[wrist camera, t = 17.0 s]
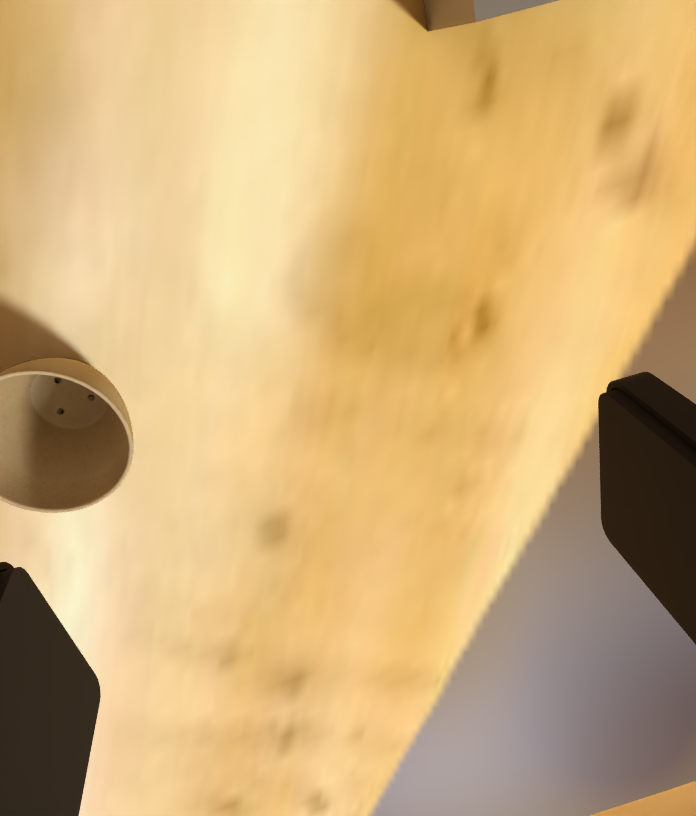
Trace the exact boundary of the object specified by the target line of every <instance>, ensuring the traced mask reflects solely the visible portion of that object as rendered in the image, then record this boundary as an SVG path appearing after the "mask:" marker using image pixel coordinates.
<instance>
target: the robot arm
mask: <svg viewBox="0 0 696 816" xmlns="http://www.w3.org/2000/svg"><path fill="white" fill-rule="evenodd" d="M598 408H599V444H600V445H599V448H600V486H601V520H602V525H603V529H604V531H605V534H606V536H607V538H608V539H609V541H610V542H611V543H612V545H613V546H614V547H615V548H616V549H617V551H618V552H619V553H620V554H621V555H622V557H623V558H624V559H625V560H626V561H627V563H628V564H629V565H630V566H631V567H632V569H633V570H634V571H635V572H636V573H637V575H638V576H639V577H640V578H641V579H642V580H643V582H644V583H645V584H646V585H647V587H648V588H649V589H650V590H651V591H652V592H653V593H654V595H655V596H656V597H657V598H658V600H659V601H660V602H661V603H662V604H663V606H664V607H665V608H666V609H667V610H668V612H669V613H670V614H671V615H672V617H673V618H674V619H675V620H676V621H677V623H679V625H680V626H681V627H682V628H683V629H684V631H685V632H686V633H687V634H688V636H689V637H690V638H691V639H692V640H693V642H694V643H695V644H696V404H694V403H693V402H691V401H690V400H689V399H687V398H686V397H684V396H683V395H682V394H680V393H678V392H677V391H675V390H674V389H673V388H671V387H670V386H668V385H667V384H666V383H664V382H663V381H661V380H660V379H659V378H657V377H655V376H654V375H653V374H651V373H649V372H642V373H638V374H635V375H632V376H628V377H625V378H621V379H618V380H615V381H612V382H610V383H609V384H608V387H607V392H606V393H603V394H601V395H600V397H599V402H598ZM99 703H100V686H99V682H98V679H97V677H96V675H95V673H94V672H93V670H92V669H91V667H90V666H89V664H88V663H87V661H86V660H85V658H84V657H83V655H82V654H81V652H80V651H79V649H78V648H77V646H76V645H75V643H74V642H73V640H72V639H71V637H70V636H69V634H68V633H67V631H66V630H65V628H64V627H63V625H62V624H61V622H60V621H59V619H58V618H57V616H56V615H55V613H54V612H53V610H52V609H51V607H50V606H49V604H48V603H47V601H46V600H45V598H44V597H43V595H42V594H41V592H40V591H39V589H38V588H37V586H36V585H35V583H34V582H33V580H32V579H31V577H30V576H29V574H28V573H27V572H26V571H25V569H23V568H21V567H17V568H14V567H13V566H12V565H11V564H9V563H7V562H0V816H78V815H79V810H80V805H81V799H82V794H83V788H84V783H85V778H86V772H87V767H88V762H89V756H90V751H91V746H92V740H93V735H94V730H95V724H96V719H97V714H98V708H99ZM590 816H696V781H695V782H692V783H688V784H685V785H682V786H679V787H676V788H673V789H670V790H667V791H664V792H661V793H658V794H655V795H652V796H649V797H645V798H642V799H639V800H636V801H633V802H630V803H627V804H624V805H621V806H618V807H615V808H612V809H609V810H606V811H602V812H599V813H596V814H593V815H590Z"/></svg>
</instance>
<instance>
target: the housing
mask: <svg viewBox="0 0 696 816" xmlns="http://www.w3.org/2000/svg"><path fill="white" fill-rule="evenodd" d="M554 1H558V0H424V7H425V14H426V21H427V29H428V31H432V30H437V29H442V28H448V27H453V26H458V25H463V24H468V23H474V22H478V21H482V20H486V19H489V18H493V17H497V16H501V15H505V14H508V13H512V12H516V11H520V10H524V9H527V8H531V7H535V6H539V5H543V4H546V3H550V2H554Z"/></svg>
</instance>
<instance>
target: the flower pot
mask: <svg viewBox="0 0 696 816" xmlns="http://www.w3.org/2000/svg"><path fill="white" fill-rule="evenodd" d="M55 379H56V380H58V382H59V383H57V382H55ZM89 395H93V396H89ZM62 410H64V412H63V413H61V411H62ZM132 457H133V432H132V426H131V421H130V417H129V414H128V411H127V408H126V406H125V403H124V401H123V399H122V397H121V396H120V394H119V392H118V391H117V389H116V388H115V387H114V385H113V384H112V383H111V382H110V381H109V380H108V379H107V378H106V377H105V376H104V375H103V374H102V373H101V372H99V371H98V370H96V369H95V368H93V367H91V366H90V365H87V364H85V363H83V362H80V361H77V360H72V359H66V358H43V359H36V360H31V361H27V362H24V363H21V364H18V365H15V366H13V367H10V368H8V369H6V370H4V371H2V372H0V500H2V501H4V502H6V503H8V504H11V505H13V506H16V507H19V508H23V509H27V510H31V511H38V512H47V513H57V512H69V511H74V510H79V509H83V508H86V507H89V506H91V505H93V504H96V503H98V502H99V501H101V500H103V499H105V498H106V497H108V496H109V495H110V494H111V493H113V492H114V491H115V490H116V489H117V488H118V487H119V486H120V484H121V483H122V482H123V480H124V479H125V477H126V475H127V473H128V471H129V469H130V466H131V462H132Z"/></svg>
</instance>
